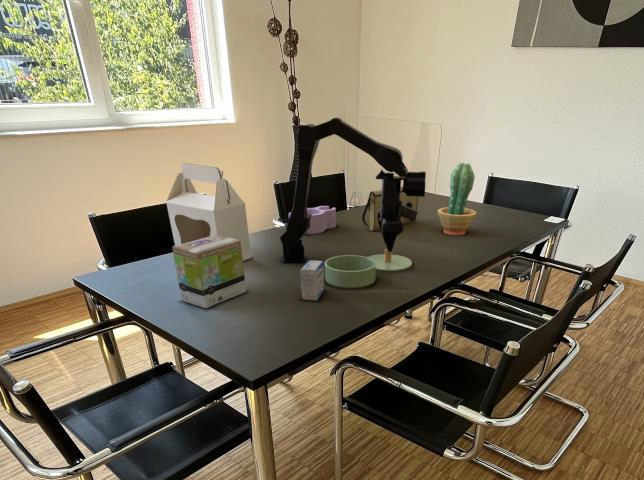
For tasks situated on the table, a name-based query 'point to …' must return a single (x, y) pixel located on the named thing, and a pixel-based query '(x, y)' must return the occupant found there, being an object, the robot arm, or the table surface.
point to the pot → (350, 271)
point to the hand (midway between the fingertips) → (388, 247)
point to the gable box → (206, 209)
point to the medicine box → (312, 280)
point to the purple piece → (321, 219)
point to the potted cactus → (458, 201)
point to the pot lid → (390, 261)
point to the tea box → (209, 270)
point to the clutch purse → (375, 205)
